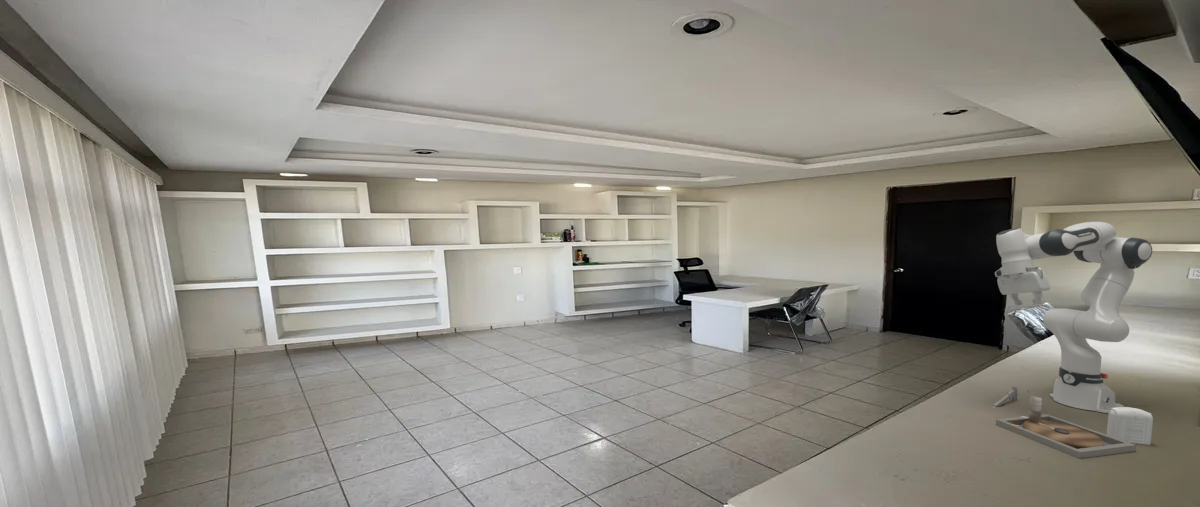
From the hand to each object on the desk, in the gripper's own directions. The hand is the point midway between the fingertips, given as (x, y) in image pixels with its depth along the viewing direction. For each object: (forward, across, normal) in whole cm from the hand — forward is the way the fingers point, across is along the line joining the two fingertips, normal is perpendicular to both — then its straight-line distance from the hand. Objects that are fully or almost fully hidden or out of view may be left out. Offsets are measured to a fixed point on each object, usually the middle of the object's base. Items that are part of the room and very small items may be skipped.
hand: (1028, 304), depth 170 cm
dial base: (+46, -12, +10) cm, 49 cm away
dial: (+45, -13, +10) cm, 48 cm away
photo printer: (+49, -11, -11) cm, 51 cm away
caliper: (+40, +20, +5) cm, 45 cm away
